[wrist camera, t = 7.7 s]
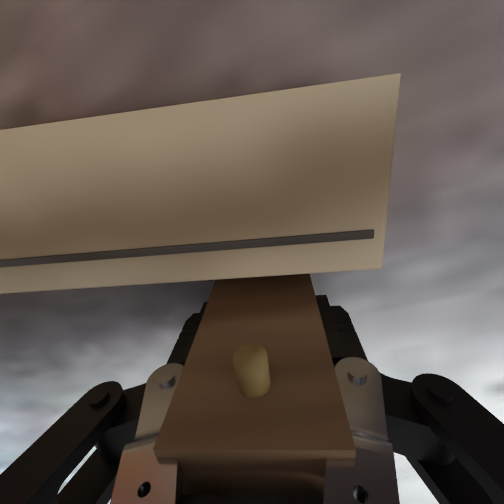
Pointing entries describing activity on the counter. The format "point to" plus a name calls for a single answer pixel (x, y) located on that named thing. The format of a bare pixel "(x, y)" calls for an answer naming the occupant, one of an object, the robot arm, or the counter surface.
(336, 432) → the brown block with peg
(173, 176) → the board
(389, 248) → the counter surface
